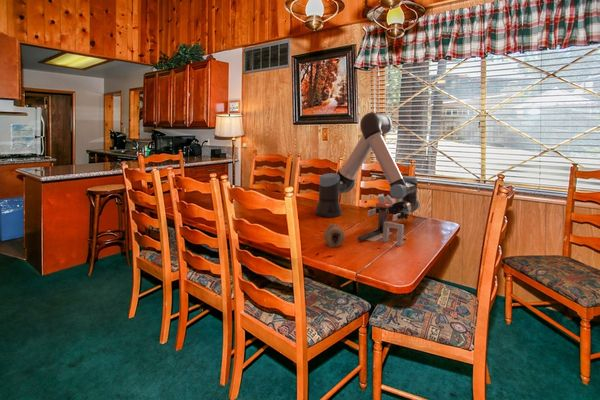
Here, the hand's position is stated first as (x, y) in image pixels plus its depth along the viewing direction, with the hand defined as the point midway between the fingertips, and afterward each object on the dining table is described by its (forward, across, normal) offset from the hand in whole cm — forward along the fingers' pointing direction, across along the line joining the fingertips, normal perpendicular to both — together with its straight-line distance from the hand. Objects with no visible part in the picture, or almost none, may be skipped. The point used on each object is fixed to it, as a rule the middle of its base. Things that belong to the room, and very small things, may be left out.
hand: (380, 215), depth 183 cm
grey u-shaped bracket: (+8, -11, -9) cm, 16 cm away
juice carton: (-47, +11, -9) cm, 49 cm away
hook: (+6, 0, -9) cm, 11 cm away
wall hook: (-53, +25, -10) cm, 59 cm away
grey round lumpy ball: (+29, +6, -9) cm, 31 cm away
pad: (+4, 0, -9) cm, 10 cm away
